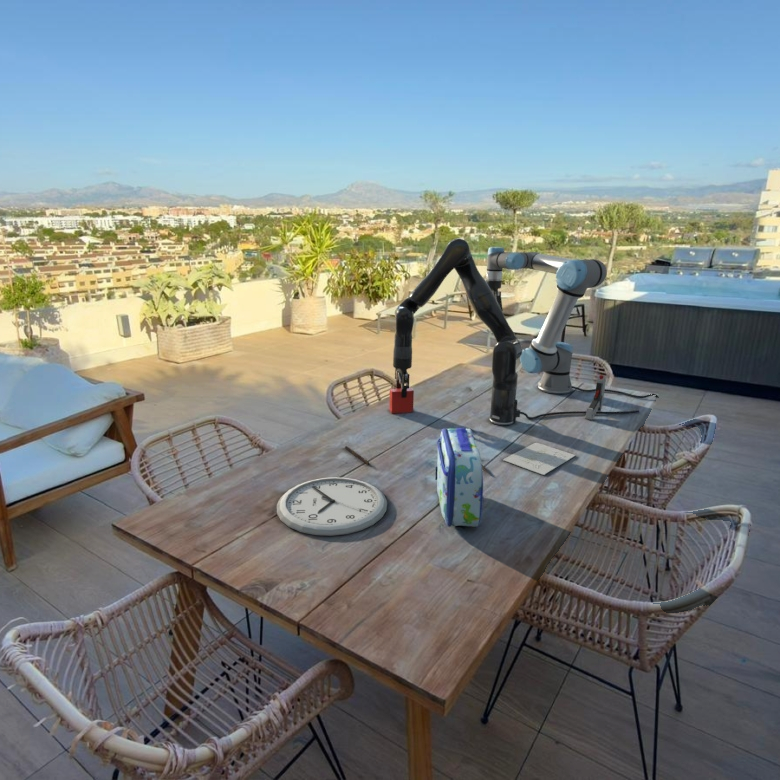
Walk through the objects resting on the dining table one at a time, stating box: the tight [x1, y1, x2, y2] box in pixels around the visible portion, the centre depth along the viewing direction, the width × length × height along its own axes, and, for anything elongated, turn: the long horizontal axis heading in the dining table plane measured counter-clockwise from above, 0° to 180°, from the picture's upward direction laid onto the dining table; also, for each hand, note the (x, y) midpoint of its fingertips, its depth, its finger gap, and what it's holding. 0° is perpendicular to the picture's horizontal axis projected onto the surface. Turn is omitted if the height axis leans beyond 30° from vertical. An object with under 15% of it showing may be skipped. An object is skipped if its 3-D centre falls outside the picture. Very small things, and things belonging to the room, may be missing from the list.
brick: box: [388, 387, 415, 414], centre depth 215 cm, size 4×9×9 cm, turn 104°
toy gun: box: [585, 374, 606, 421], centre depth 213 cm, size 2×16×15 cm
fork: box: [482, 465, 488, 474], centre depth 169 cm, size 3×16×2 cm, turn 15°
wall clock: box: [276, 476, 388, 537], centre depth 142 cm, size 30×2×30 cm
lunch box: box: [434, 427, 484, 528], centre depth 139 cm, size 26×11×21 cm, turn 179°
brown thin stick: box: [344, 445, 370, 465], centre depth 173 cm, size 15×1×1 cm, turn 34°
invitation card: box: [502, 442, 577, 476], centre depth 174 cm, size 21×1×15 cm
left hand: (401, 394), depth 215 cm, fingers open, 8 cm apart
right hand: (490, 323), depth 261 cm, fingers open, 13 cm apart
